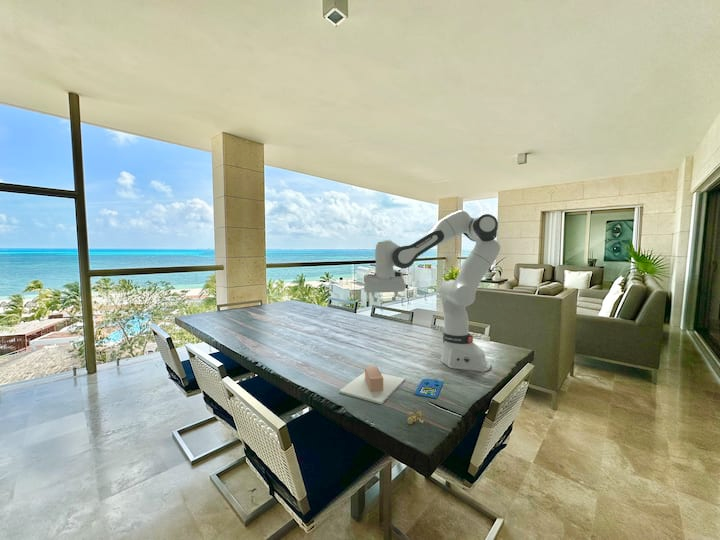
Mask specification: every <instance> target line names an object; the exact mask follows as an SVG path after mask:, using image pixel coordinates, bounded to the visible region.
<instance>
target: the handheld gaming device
mask: <svg viewBox="0 0 720 540" xmlns="http://www.w3.org/2000/svg"><path fill="white" fill-rule="evenodd" d="M443 384H444V380H443V381H442V380H438V379H433V378H422V379H421V381H420V383H419V385H418V386H417V388H415V391H414V393H413V394H414V395H415V396H418V395H419V397H422V398H423V397H425V398H428V399H433V398H434V399H435V400H436V399H437V398H438V396H439V394H440V392H441V389H442V387H443ZM441 386H442V387H441ZM422 387H424V389H423V391H424V390H434V391H435V389H436V392H434V393H435V395H431V393H430V392H431V391H428V392H427V394H425V393H420V391H421V389H422ZM439 391H440V392H439ZM425 392H426V391H425ZM434 393H433V394H434Z"/></svg>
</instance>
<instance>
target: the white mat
mask: <svg viewBox="0 0 720 540" xmlns="http://www.w3.org/2000/svg"><path fill="white" fill-rule="evenodd" d="M380 373H381V372H380ZM381 375H382V376H383V391H375V392H370V389H369V387H368V385H367V382H366V380H365V371H364V372H363V373H361V374H360V375H359V376H357V377H356V378H354V379H353V380H351V381H350V382H349V383H348V384H346V385H345V386H343V387H342V388H341V389H340V390H339V391H338V392H339V394H342V395H345V396H349V397H354V398H357V399H361V400H365V401H368V402H372V403H376V404H379V405H383V404H384V403H385V402H386V401H387V400H386V399H388V398H390V397H391V395H393V393H395V392H396V391H397V389H398V388H399V387H400V386H401V385H402V384H403V383H404V382H405V381H406V378H405V377H399V376H395V375H390V374H385V373H381ZM385 400H386V401H385ZM384 401H385V402H384Z"/></svg>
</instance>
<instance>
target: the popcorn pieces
mask: <svg viewBox="0 0 720 540" xmlns="http://www.w3.org/2000/svg"><path fill="white" fill-rule="evenodd" d="M422 414H423V413H422V412H421V411H417V412H416V415H414V412H412V411H409V412H408V417H407V424H408V425H413V423H414V422H417V421H419V423H421V424H423V423H424V422H425V421H424V420H423V419H422V417H423V415H422Z"/></svg>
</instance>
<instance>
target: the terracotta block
mask: <svg viewBox="0 0 720 540" xmlns="http://www.w3.org/2000/svg"><path fill="white" fill-rule="evenodd" d="M364 372H365V380H366V382H367V385H368V387H369V389H370V392H375V391H383V376H382V375H381V371H380V370H379V367H378V366H377V365H372V366H371V365H370V366H369V365H368V366H364Z"/></svg>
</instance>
